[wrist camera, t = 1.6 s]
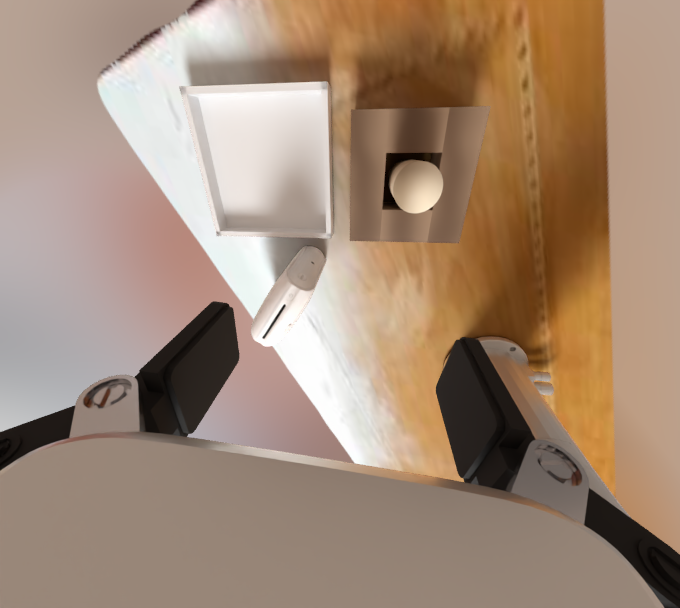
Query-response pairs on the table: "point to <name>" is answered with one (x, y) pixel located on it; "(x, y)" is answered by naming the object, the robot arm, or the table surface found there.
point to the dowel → (415, 185)
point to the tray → (265, 157)
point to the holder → (413, 137)
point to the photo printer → (288, 297)
